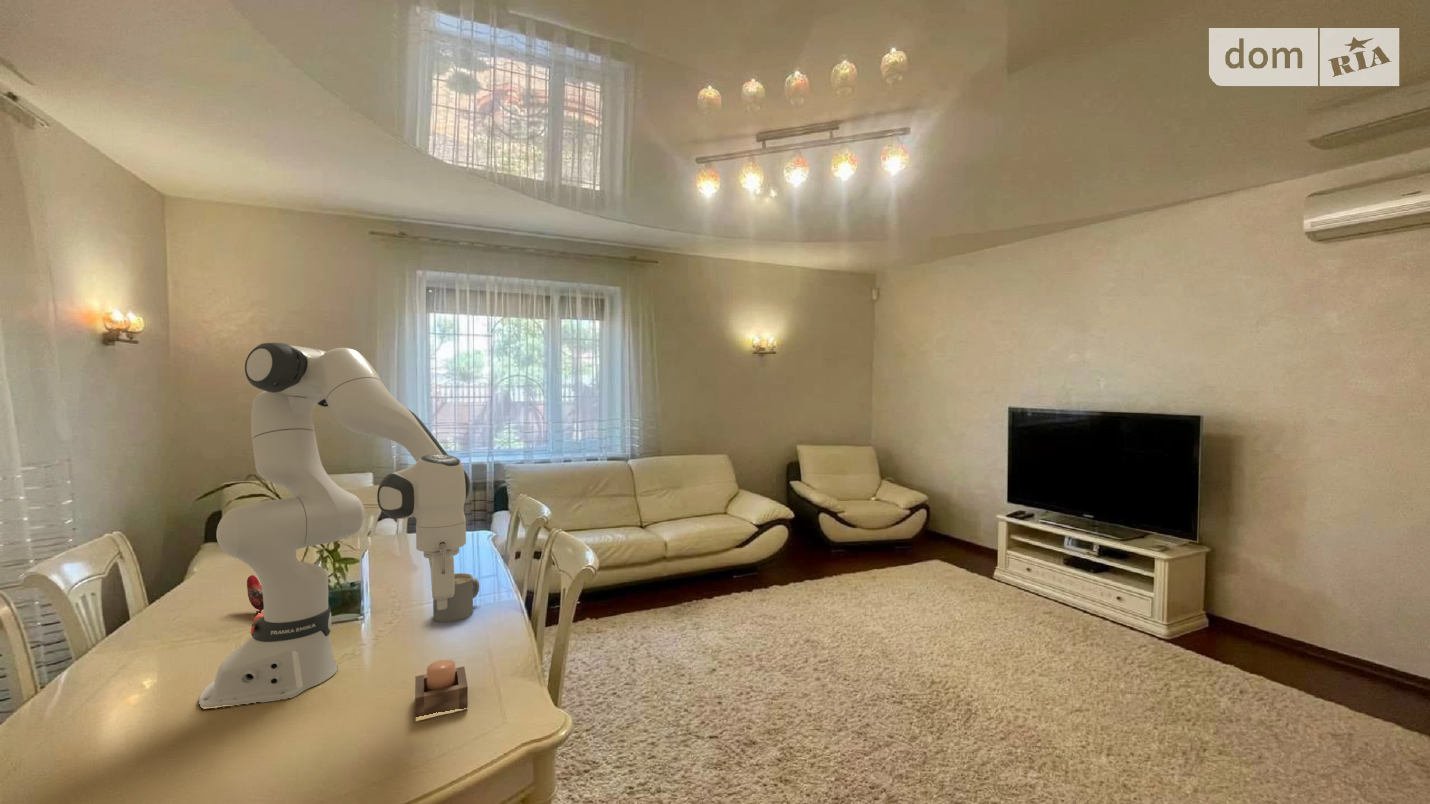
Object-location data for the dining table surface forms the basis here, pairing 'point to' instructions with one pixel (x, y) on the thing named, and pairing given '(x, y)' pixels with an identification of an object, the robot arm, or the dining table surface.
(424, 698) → the button box
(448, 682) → the push button
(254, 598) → the decorative bird figurine
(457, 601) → the coffee mug
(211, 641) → the dining table surface
